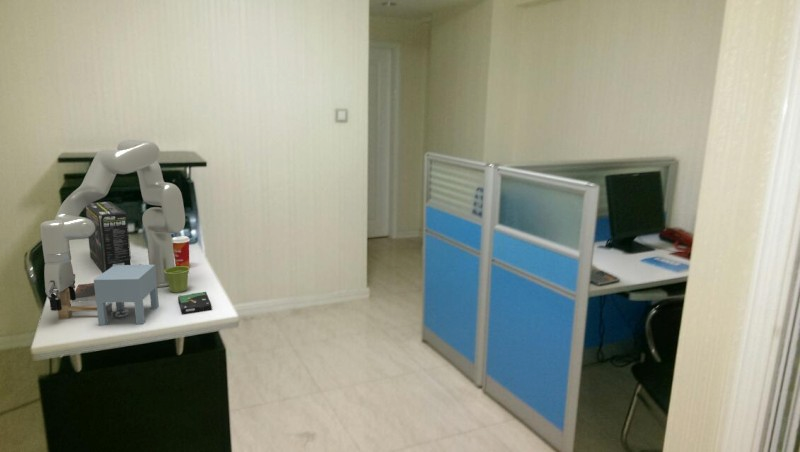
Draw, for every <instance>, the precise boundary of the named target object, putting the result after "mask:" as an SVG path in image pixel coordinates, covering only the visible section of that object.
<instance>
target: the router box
mask: <svg viewBox="0 0 800 452" xmlns="http://www.w3.org/2000/svg"><path fill="white" fill-rule="evenodd" d="M84 210H85V214H86V215H85V216H86V217H85V218H88V219H90V220H91V221H92V222H93V223H94V225H95V231H94V233H93V234H92V235H91V236H90V237H88V248H89V256H90V259H91V260H92V261H93V262H94V264H95V265H96V266H97V268H99V270H100V271H101V272H102V274H103V273H104V272H105V271H107V270H108V269H110V268H111V267H112V266H114V265H132V264H131V260H132V255H131V251H130V250H131V245H130V235H129V224H128V223H129V222H128V216H127V212H125V211H124V210H122V209H121V208H120V207H118V206H117V205H115V204H114V202H113V203H112V202H111V201H102V202H100V201H99V202H98V201H95V202H92V203H90V204H89V205H87V206H86V207H85V208H84Z"/></svg>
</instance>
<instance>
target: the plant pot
mask: <svg viewBox="0 0 800 452" xmlns="http://www.w3.org/2000/svg"><path fill="white" fill-rule="evenodd" d="M164 273H166V276H167V279H168V282H169V286H168V287H169V290H170V292H172V293H174V294H175V293H176V294H178V293H183V292H186V291H187V290H188V279H189V278H188V277H189V274H190V266H189V267H185V266H177V267H176V266H175V267H171V268H168V269H166V270H164Z"/></svg>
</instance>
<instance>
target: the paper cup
mask: <svg viewBox="0 0 800 452" xmlns="http://www.w3.org/2000/svg"><path fill="white" fill-rule="evenodd" d="M172 240H173V253H174V265H175V267H177V266H185V267H189V268H190V241H191V240H190V237H188V236H186V235H180V236H175V237H172Z"/></svg>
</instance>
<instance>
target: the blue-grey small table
mask: <svg viewBox="0 0 800 452" xmlns="http://www.w3.org/2000/svg"><path fill="white" fill-rule="evenodd" d="M93 283H94V288H95V297H96V300H95V304H96V305H95V306H97V310H96V313H97V319H98V326H107V324H108V316H107V311H106V304H107V303H112V304H113V303H115V308H116V309H115V310H124V308H125V303H134V313H135V323H136V325H144V323H145V322H146V321H145V320H146V319H145V309H144V299H146V297H148V295H149V298H150V308H151V309H154V310H155V309H158V308H159V307H160V303H159V292H158V287H157V280H156V269H155V265H149V264H131V265H114V266H112V267H111V268H110V269H108V270H107V271H105V272H104V273H103V272H102V273H101V274H100V275H98V276H97V277H95V278H94V279H93ZM151 309H150V310H151Z"/></svg>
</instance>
